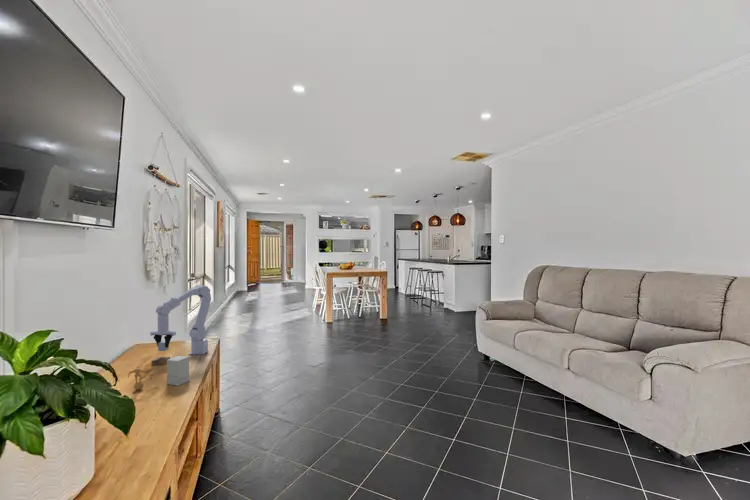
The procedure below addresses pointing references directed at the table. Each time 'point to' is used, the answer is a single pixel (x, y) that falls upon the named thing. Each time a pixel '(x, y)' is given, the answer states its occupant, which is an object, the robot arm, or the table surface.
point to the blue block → (162, 346)
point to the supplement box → (177, 370)
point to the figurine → (139, 384)
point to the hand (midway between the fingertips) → (163, 347)
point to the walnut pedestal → (160, 360)
